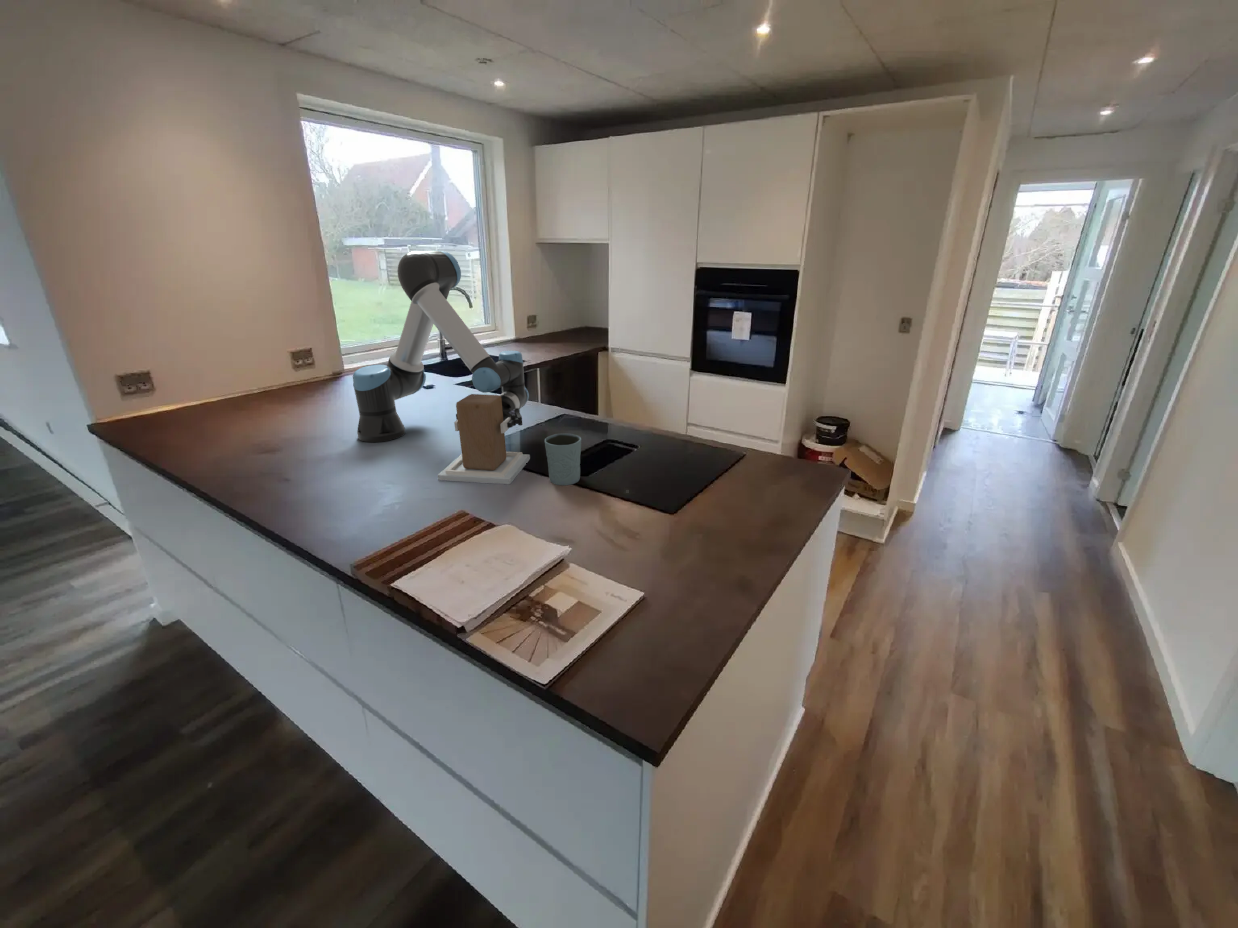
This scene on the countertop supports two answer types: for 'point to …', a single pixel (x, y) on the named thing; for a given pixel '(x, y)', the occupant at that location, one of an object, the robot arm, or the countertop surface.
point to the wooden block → (481, 431)
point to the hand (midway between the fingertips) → (478, 427)
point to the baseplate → (498, 476)
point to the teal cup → (563, 458)
